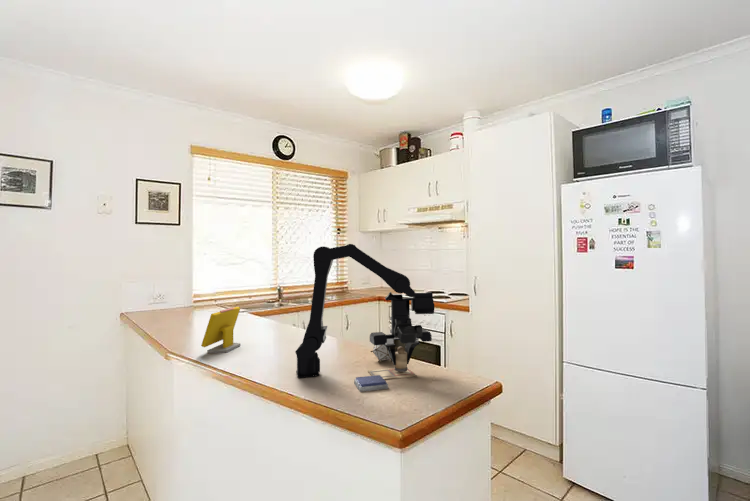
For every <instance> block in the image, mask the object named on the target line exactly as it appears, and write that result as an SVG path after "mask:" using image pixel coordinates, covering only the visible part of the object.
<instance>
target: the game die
mask: <svg viewBox="0 0 750 501" xmlns="http://www.w3.org/2000/svg"><path fill="white" fill-rule="evenodd" d="M398 347H399V346H396V347H395V349H398ZM370 353H373V354H374V356H375V357H376V358H377V360H378V361H377V363H380V362H381V361H389V360H390V361H391V362H392V359H391V357H390V354H389V352H388V350H387V348H386V346H384V345H373V349H372V350H371V351H370Z"/></svg>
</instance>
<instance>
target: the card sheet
mask: <svg viewBox="0 0 750 501" xmlns="http://www.w3.org/2000/svg"><path fill="white" fill-rule="evenodd" d="M367 373H368V374H369V376H375V375H380V376H381V377H382V378H383V379H384V380H385V381H386V380H395V379H404V378H413V377H418V375H417V374H416V373H415V372H413V371H411V369H410V368H408V370H407V371H404V372H399V371H395V367H393V368H382V369H372V370H367Z"/></svg>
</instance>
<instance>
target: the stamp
mask: <svg viewBox="0 0 750 501" xmlns="http://www.w3.org/2000/svg"><path fill="white" fill-rule="evenodd" d="M397 347H398V348H396V349H397V350H396V351H395V356H396V365H395V366H394V368H395V371H399V372H404V371H407V370H408V369H409V367H408V364H407V352H405V347H404V346H397Z"/></svg>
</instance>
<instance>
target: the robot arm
mask: <svg viewBox="0 0 750 501" xmlns="http://www.w3.org/2000/svg"><path fill="white" fill-rule="evenodd" d="M312 258H313V269H314V270H313V271H314V282H313V283H314V284H313V291H312V300H311V306H310V307H311V308H310V314H309V315H310V316H309V321H308V324H307V326H306V329H305V332H304V335H303V339H302V343H301V344H299V346H298V348H297V349H296V350H295V351H294V352H295V355H296V371H295V373H296V377H297V378H298V379H300V378H301V379H302V378H313V377H320V373H321V359H320V357H319V354H318V352H317V351H319V350H320V349H321V347H322V345H323V344H324V343H325V341H326V340H327V335H326V333H327V330H328V325H324V320H323V318H324V311H325V310H324V309H325V302H326V301H325V300H326V294H327V285H328V276H329V275H330V271H331V269H332V265H333V262H334V260H339V259H343V258H351V259H352V260H354V261H356V262H357V263H359V264H360V265H362V267H365V268H366V269H367V270H369V271H370V272H372V273H374V274H375V275H377V276H378V277H379V278H380V279H381V280H382V281H384V283H386V284H387V285H388V287H390V288H391V289H392V291H394V292H395V293H398V294H393V293H392V292H391V291H389V293H388V294H387V296H385V297H384V299H385V301H391V302H390V311H391V313H390V314H391V315H390V317H389V318H390V322H391V326H390V327H391V328H390V334H386V333H384V332H383V331H377V332H376V331H375V332H371V333H370V334H369V342H370V343H371V344H372V345H373V346H375V345H384V346H386V348H387V350H388V352H389V354H390V357H391V359H392V361H391V362H392V364H393V366H394V367H395V365H396V356H395V352H396V348H395V347H397V345H396V344H395V343H394V341H399V342H400V343H401V344H404V345H405V347H404V349H405V352H407V365H409V363H410V360H411V357H412V356H413V352H414V350H415V349H416V347H417V346H419V345H420V344H421V342H422V343H424V342H432V341H433V340H432V333H431V332H430V331H429V330H427V329H424V328H423V326H422V325H421V324H416V325H413V323H412V318H411V317H410V314H411V312H414V314H415V315H434V314H435V303H434V297H433V292H431V291H428V292H427V291H426V292H415V290H414V289H413V288H412V287H411V281H410V279H409V277H407V276H406V275H404V274H403V273H400V272H399V271H396V270H394V269H391V268H390V267H387V266H385V265H383V264H382V263H381V262H379V261H377V260H376V259H374V258H373V257H371V256H370V255H369V254H367V253H365V251H363V250H361V249H360V248H359V247H357V246H356V245H355V244H353V243H349V244H347V245H346V244H345V245H341V246H336V247H328V246H319V247H317V248H316V249H315V250H314V251H313V257H312ZM403 294H405V295H406V296H407V297H403ZM410 307H411V308H410ZM410 309H411V310H410ZM410 311H411V312H410ZM419 339H420V340H421V342H419Z"/></svg>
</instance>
